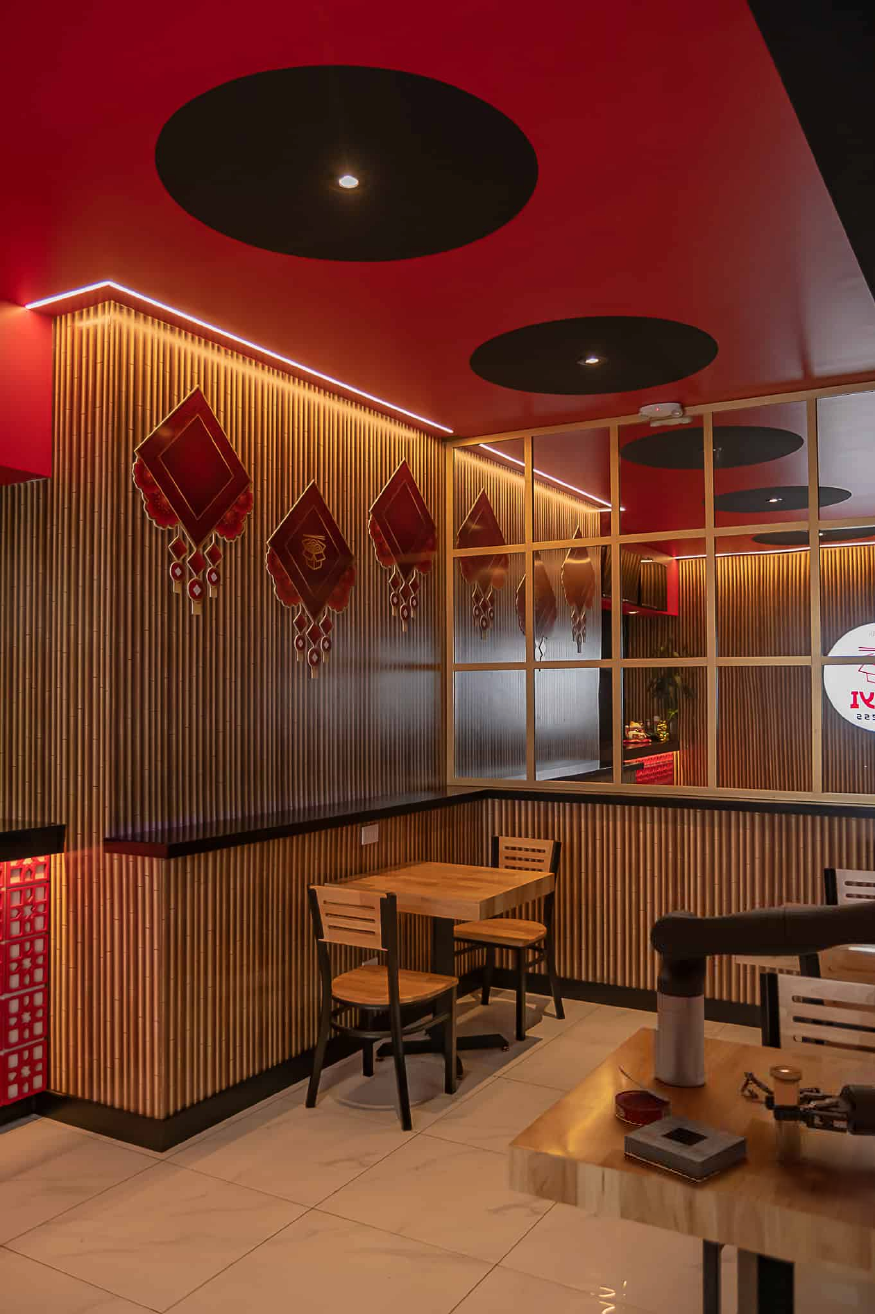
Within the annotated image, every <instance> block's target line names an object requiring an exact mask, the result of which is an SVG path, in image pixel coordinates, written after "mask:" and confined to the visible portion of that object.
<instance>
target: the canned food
mask: <svg viewBox="0 0 875 1314" xmlns="http://www.w3.org/2000/svg"><path fill="white" fill-rule="evenodd" d="M617 1068H618V1069H619V1071H620V1072H621V1074H623V1075H624V1076H625V1077H627V1078H628V1079H629V1080H630V1081H632V1082H634V1083H635V1084H636V1085H638V1086H639V1087H640V1088H641V1089H643V1090H641V1089H640V1090H637V1089H633V1090H625V1091H621V1092H618V1093H617V1094H616V1095H615V1096H614V1101H615V1102H614V1104H615V1105H614V1108H615V1109H614V1113H615V1112H616V1114H617V1115H618V1116H619V1117H620V1118H623V1119H625V1120H627V1121H630V1122H632V1123H637V1124H642V1125H649V1124H651V1123H653V1122H656V1121H658V1120H660V1119H662V1118H665V1117H667V1116H669V1115H671V1100H670V1099H669V1098H668V1097H666V1096H665V1095H664V1094H662V1093H659V1092H657V1091H656V1090H653V1089H651V1088H649V1087H647V1086H645V1085H643V1084H640V1083H639V1082H636V1081H635V1080H633V1078H631V1077H630V1076H629V1075H628V1074H627V1073H626V1072H625V1071H624V1070H623V1069H622V1068H620V1066H618V1067H617Z"/></svg>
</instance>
